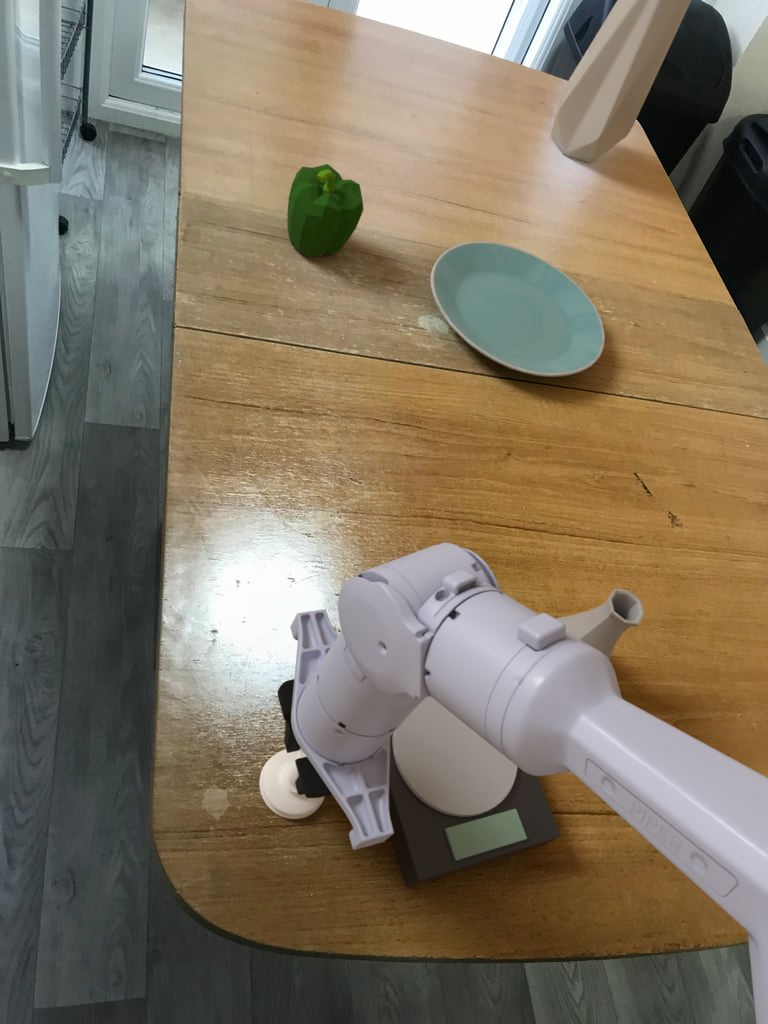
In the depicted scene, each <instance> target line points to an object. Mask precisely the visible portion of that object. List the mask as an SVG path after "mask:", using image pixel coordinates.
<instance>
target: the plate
mask: <svg viewBox="0 0 768 1024" xmlns="http://www.w3.org/2000/svg"><path fill="white" fill-rule="evenodd" d="M429 281H430V289H431V293H432V298H433V300H434V303H435V305H436V307H437V308H438V311H439V313H440V314H441V315H442V317H443V318H444V320H445V321H446V323H447V324H448V326H450V327H451V328H452V331H454V332H455V333H456V334H457V335H458V336H459V337H460V338H461V339H462V340H463V341H464V342H466V343H467V344H468V345H469V346H470V347H472V348H473V349H474V350H475V351H477V352H478V353H480V354H481V355H483V357H486V358H488V359H489V360H491V361H493V362H495V363H497V364H499V365H501V366H502V367H505V368H508V369H510V370H513V371H516V372H520V373H522V374H527V375H530V376H534V377H535V376H536V377H543V378H544V377H545V378H546V377H547V378H559V377H560V378H561V377H567V376H572V375H576V374H579V373H581V372H584V371H586V370H588V369H589V368H590V367H592V366H594V364H596V363H597V361H598V360H599V359H600V357H601V356H602V354H603V351H604V348H605V343H606V341H605V340H606V334H605V333H606V332H605V328H604V323H603V321H602V317H601V315H600V313H599V311H598V309H597V307H596V305H595V304H594V303H593V300H591V298H590V297H589V295H588V294H587V293H586V292H585V290H583V289H582V287H581V286H579V284H578V283H577V282H575V280H573V278H571V277H570V276H568V275H567V273H565V272H564V271H562V270H561V269H560V268H558V267H556V266H554V265H553V264H551V263H550V262H548V261H546V260H545V259H544V258H541V257H539V256H537V255H536V254H533V253H531V252H529V251H526V250H524V249H521V248H518V247H515V246H513V245H509V244H505V243H500V242H495V241H483V240H482V241H469V242H464V243H460V244H456V245H454V246H452V247H450V248H448V249H447V250H445V251H444V252H443V253H441V254H440V255H439V256H438V258H437V259H436V260H435V262H434V264H433V266H432V269H431V273H430V280H429Z"/></svg>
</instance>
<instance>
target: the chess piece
mask: <svg viewBox="0 0 768 1024" xmlns="http://www.w3.org/2000/svg"><path fill="white" fill-rule="evenodd" d="M303 757H307V756H306V755H305V753H304V752H303V750H302V749H301V748H300V750H299V751H295V752H290V753H287V750H286V748H285V749H283V750H280V751H278V752H276V753H275V754H273V755H272V756H271V757H270V758H269V759H268V760H266V762H265V764H264V765H263V767H262V769H261V772H260V775H259V780H258V781H259V782H258V783H259V791H260V795H261V798H262V800H263V802H264V803H265V805H266V806H267V807H268V809H269V810H271V811H272V812H273V813H274V814H276V815H278V816H280V817H282V818H285V819H289V820H299V819H305V818H307V817H309V816H311V815H312V814H314V813H315V812H316V811H317V810H318V809H319V808H320V807H321V805H322V804H323V802H324V800H325V798H326V796H324V797H320V798H307V797H306V796H305V794H302V795H299V794H298V793H297V789H296V785H295V781H296V779H297V778H298V776H299V775H298V771H297V767H296V763H295V760H296V759H299V758H303Z"/></svg>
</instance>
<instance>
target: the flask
mask: <svg viewBox="0 0 768 1024" xmlns="http://www.w3.org/2000/svg"><path fill="white" fill-rule="evenodd" d="M644 616H645V611H644V606H643V603H642V600H641V599H640V598H638V597H637V596H636V595H634V594H633V592H631V591H630V590H625V589H620V588H614V589H613V590H612V591H611V593H610V595H609V596H608V597H607V599H606V601H605V602H604V603H602V604H600V605H598V606H596V607H595V608H592V609H590V610H587V611H583V612H578V613H575V614H570V615H566V616H561V617H556V618H555V617H554V618H555V619H557V620H558V621H560V622H562V623H563V624H564V625H565V626H566V631H567V632H569V633H570V634H572V635H574V636H576V637H577V638H579V639H581V640H582V641H584V642H585V643H587V644H589V645H590V646H592V647H594V648H595V649H597V650H599V651H600V652H602V653H603V654H604V655H606V656H607V657H608V659H609V660H610V659H611V657H612V654H613V651H614V649H615V647H616V644H617V643H618V641H619V639H620V638H621V636H622V635H623V634H624V633H625V632H626V631H627V630H628V629H630V628H631V627H633V628H636V627H638V626H639V625H640V624H641V622H642V620H643V619H644Z"/></svg>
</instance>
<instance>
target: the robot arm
mask: <svg viewBox="0 0 768 1024" xmlns="http://www.w3.org/2000/svg"><path fill="white" fill-rule="evenodd" d="M337 600H338V602H337V609H338V620H339V625H340V629H341V630H340V632H339V633H338V632H337V630H335V627H334V626H333V625H332V623H331V620H330V618H329V616H328V612H327V609H318V610H310V611H303V612H297V613H296V615H295V617H294V619H293V620H292V623H291V624H290V626H289V627H290V631H291V634H292V638H293V639H294V640H295V641H297V647H296V649H297V650H296V656H295V657H296V658H295V669H294V678H293V679H288V680H286V681H284V682H282V683H281V685H279V688H278V689H277V699H278V702H279V706H280V709H281V713H282V717H283V720H284V739H283V740H284V746H285V749H286V750H287V753H290V752H295V751H299V750H300V748H301V749H302V750H303V752H304V753H305V755H306V756H307V757H303V758H299V759H296V760H295V763H296V767H297V771H298V775H299V776H298V778H297V779H296V781H295V785H296V789H297V793H298V794H299V795H302V794H305V796H306V797H307V798H320V797H324V796H325V797H327V796H333V797H334V799H335V801H336V802H337V804H338V805H339V807H340V808H341V810H342V812H343V813H344V815H346V817H347V819H348V821H349V822H350V824H351V826H352V829H351V830H350V831H349V832H348V837H349V841H350V845H351V848H352V850H353V851H357V850H360V849H363V848H367V847H370V846H374V845H377V844H382V843H384V842H385V841H386V840H387V839H389V838H391V835H393V834H394V830H393V826H392V822H391V818H390V811H389V767H390V736H391V735H392V734H393V733H394V732H395V730H396V729H397V728H398V727H399V726H400V725H401V724H402V723H403V721H404V720H405V719H406V718H407V717H408V716H409V715H410V714H411V713H412V712H413V711H414V710H415V709H416V707H417V706H418V705H419V704H420V703H421V702H422V701H423V700H424V699H425V698H426V697H430V696H431V697H432V698H434V699H435V700H436V701H437V702H438V703H440V704H441V705H442V706H443V707H445V708H446V709H447V710H448V711H450V712H451V713H452V714H453V715H454V716H456V717H457V718H458V719H459V720H461V721H462V722H463V723H464V724H466V725H467V726H468V727H469V728H471V729H472V730H473V731H474V732H476V733H477V734H478V735H479V736H480V737H482V738H483V739H484V740H485V741H487V742H488V743H489V744H490V745H492V746H493V747H494V748H495V749H497V750H498V751H499V752H500V753H502V754H503V755H504V756H505V757H506V758H508V759H509V760H510V761H511V762H513V763H514V764H515V765H516V766H518V767H519V768H520V769H521V770H523V771H524V772H526V773H528V774H530V775H534V776H537V777H544V776H550V775H551V776H552V775H557V774H563V773H564V774H565V773H572V774H573V775H574V776H575V777H576V778H577V779H578V780H579V781H580V782H582V783H583V784H584V785H585V786H586V787H587V788H588V789H589V790H591V791H592V793H594V794H595V795H596V796H598V797H599V799H601V800H602V801H603V803H605V804H606V805H607V806H608V807H610V809H611V810H613V811H614V812H615V813H616V814H617V815H618V816H620V818H622V819H623V820H624V821H625V822H626V823H627V824H628V825H630V827H631V828H633V829H634V831H636V832H637V833H638V834H639V835H641V837H643V838H644V839H645V840H646V841H647V842H648V843H649V844H650V845H651V846H652V847H653V848H655V849H656V850H657V851H658V852H659V853H661V854H662V855H663V856H664V857H665V858H666V860H668V861H669V862H670V863H671V864H673V866H675V867H676V868H677V869H678V870H679V871H680V872H681V873H682V874H684V875H685V876H686V877H687V878H688V879H689V880H690V881H691V882H692V883H694V884H695V885H696V886H697V887H698V888H699V889H700V890H701V891H702V892H704V893H705V895H707V896H708V897H709V898H710V899H711V900H712V901H713V902H714V903H716V904H717V905H718V906H719V907H720V908H721V909H722V910H723V911H724V912H725V913H727V914H728V915H729V916H730V917H731V918H732V919H733V920H734V921H736V923H738V924H739V925H740V926H741V927H742V928H743V929H744V930H745V931H746V935H747V941H748V952H749V962H750V974H751V983H752V984H751V986H752V993H753V995H752V996H753V1003H754V1005H753V1006H754V1015H755V1024H768V777H767V776H765V775H763V774H762V773H760V772H758V771H756V770H755V769H752V768H751V767H749V766H747V765H745V764H743V763H741V762H740V761H738V760H736V759H734V758H732V757H731V756H728V755H726V754H725V753H723V752H721V751H719V750H718V749H715V747H712V746H710V745H709V744H706V743H704V742H702V741H701V740H699V739H697V738H695V737H693V736H691V735H689V734H688V733H686V732H684V731H683V730H680V729H679V728H677V727H675V726H673V725H671V724H670V723H668V722H666V721H664V720H662V719H660V718H658V716H654V715H653V714H651V713H650V712H647V711H646V710H643V709H642V708H640V707H638V706H636V705H634V704H633V703H631V702H629V701H627V700H625V699H623V697H622V694H621V690H620V686H619V682H618V677H617V674H616V670H615V668H614V666H613V663H612V662H611V660H610V659H608V657H607V656H606V655H604V654H603V653H602V652H600V651H599V650H597V649H595V648H594V647H592V646H590V645H589V644H587V643H585V642H584V641H582V640H581V639H579V638H577V637H576V636H574V635H572V634H570V633H569V632H567V631H566V626H565V625H564V624H563V623H562V622H560V621H558V620H557V619H555V617H553V616H552V615H550V614H549V613H546V612H541V613H537V612H536V611H534V610H533V609H531V608H529V607H528V606H526V605H524V604H522V603H521V602H519V601H518V600H516V599H515V598H513V597H511V596H509V595H508V594H507V593H505V592H503V591H501V588H500V585H499V583H498V580H497V578H496V576H495V574H494V572H493V571H492V569H491V568H490V566H489V564H488V563H486V561H485V560H484V559H483V558H482V557H481V556H480V555H478V554H477V553H476V552H474V551H473V550H471V549H469V548H465V547H462V546H459V545H458V544H455V543H452V542H441V543H436V544H434V545H431V546H428V547H426V548H423V549H420V550H417V551H415V552H412V553H409V554H407V555H404V556H401V557H398V558H396V559H393V560H390V561H388V562H385V563H382V564H380V565H377V566H374V567H372V568H369V569H365V570H364V571H361V572H360V573H358V574H357V575H356V576H353V577H350V578H348V579H347V580H345V581H344V583H343V584H342V586H341V588H340V590H339V594H338V599H337Z"/></svg>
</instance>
